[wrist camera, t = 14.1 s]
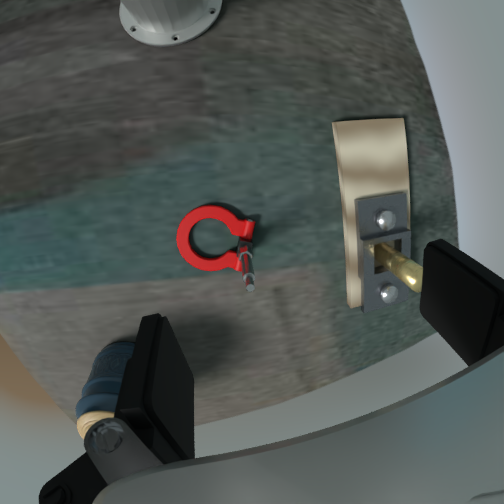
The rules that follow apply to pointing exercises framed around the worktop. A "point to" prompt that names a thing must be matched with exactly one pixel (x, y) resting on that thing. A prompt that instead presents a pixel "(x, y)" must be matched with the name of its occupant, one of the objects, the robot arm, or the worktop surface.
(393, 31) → the worktop surface
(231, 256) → the tow hook
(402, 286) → the riveted slotted plate
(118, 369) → the canister
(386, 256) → the pin
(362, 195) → the jig board
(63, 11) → the worktop surface
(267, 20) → the worktop surface
